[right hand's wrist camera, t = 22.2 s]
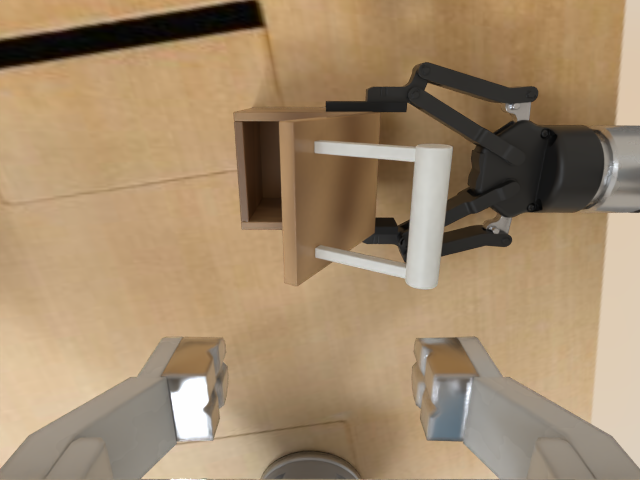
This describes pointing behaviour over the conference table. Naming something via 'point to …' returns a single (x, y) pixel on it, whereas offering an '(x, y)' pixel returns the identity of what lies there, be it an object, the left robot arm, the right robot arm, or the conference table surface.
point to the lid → (355, 197)
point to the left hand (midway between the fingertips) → (325, 169)
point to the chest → (264, 162)
